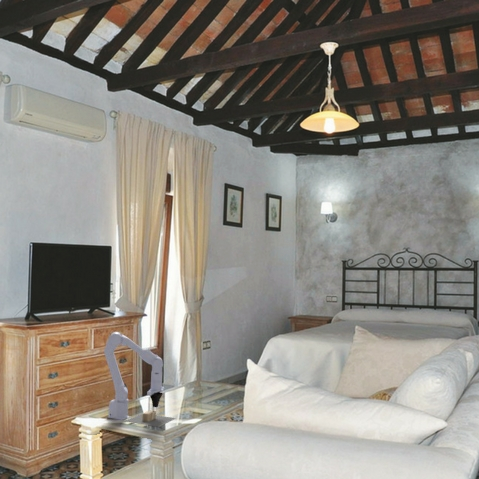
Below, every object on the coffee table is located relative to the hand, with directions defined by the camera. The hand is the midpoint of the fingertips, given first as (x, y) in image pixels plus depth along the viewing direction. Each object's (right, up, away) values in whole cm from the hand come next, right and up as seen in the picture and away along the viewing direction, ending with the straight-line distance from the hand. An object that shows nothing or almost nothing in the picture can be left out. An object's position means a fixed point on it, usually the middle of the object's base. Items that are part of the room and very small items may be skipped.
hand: (155, 406), depth 296 cm
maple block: (-1, -3, -2) cm, 4 cm away
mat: (-2, -5, -6) cm, 8 cm away
